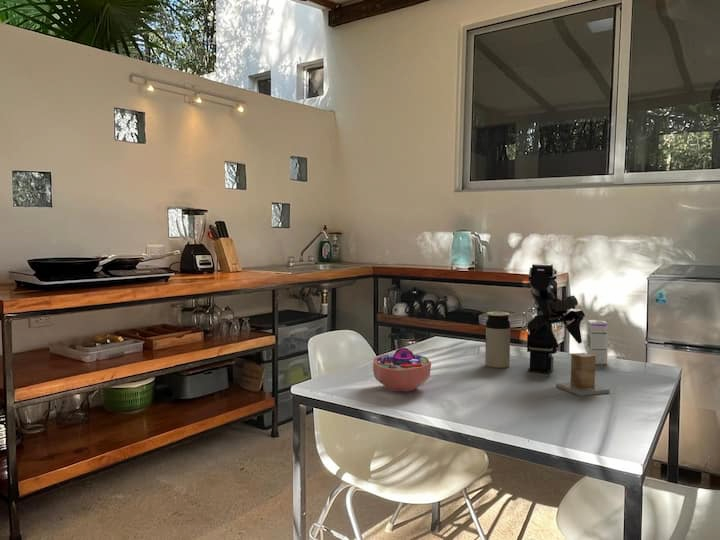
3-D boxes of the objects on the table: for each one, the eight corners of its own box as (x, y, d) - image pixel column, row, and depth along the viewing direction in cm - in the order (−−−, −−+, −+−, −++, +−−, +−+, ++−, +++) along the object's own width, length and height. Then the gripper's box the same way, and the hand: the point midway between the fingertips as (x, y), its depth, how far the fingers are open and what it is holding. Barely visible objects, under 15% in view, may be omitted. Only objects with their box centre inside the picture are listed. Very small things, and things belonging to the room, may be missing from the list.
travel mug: (512, 364, 188) (513, 312, 186) (505, 369, 181) (506, 315, 180) (489, 362, 192) (490, 310, 191) (481, 366, 185) (482, 313, 184)
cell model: (362, 395, 151) (362, 354, 150) (384, 378, 169) (384, 342, 169) (422, 402, 145) (422, 359, 144) (438, 383, 164) (438, 345, 163)
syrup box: (607, 364, 189) (609, 322, 188) (589, 363, 190) (590, 321, 189) (603, 360, 194) (605, 320, 194) (586, 360, 196) (587, 319, 195)
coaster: (556, 386, 160) (556, 383, 160) (584, 383, 163) (584, 380, 163) (580, 396, 150) (580, 392, 150) (609, 392, 154) (609, 389, 154)
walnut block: (570, 384, 158) (571, 353, 158) (583, 383, 160) (584, 352, 159) (581, 388, 154) (582, 357, 153) (594, 387, 155) (595, 355, 155)
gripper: (536, 290, 162) (561, 337, 154) (583, 284, 169) (609, 328, 162) (516, 308, 170) (539, 354, 163) (562, 302, 178) (585, 345, 171)
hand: (569, 345), depth 165 cm, fingers open, 9 cm apart
